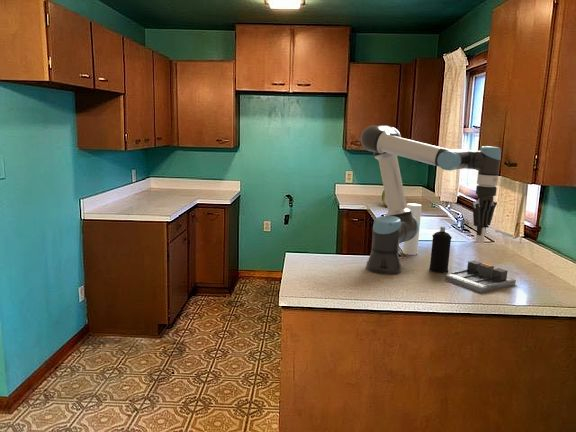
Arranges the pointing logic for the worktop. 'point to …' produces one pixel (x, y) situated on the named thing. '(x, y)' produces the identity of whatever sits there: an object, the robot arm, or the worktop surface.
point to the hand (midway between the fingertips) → (479, 242)
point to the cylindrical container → (412, 245)
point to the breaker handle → (486, 270)
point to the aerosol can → (440, 251)
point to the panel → (480, 278)
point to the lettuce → (384, 198)
